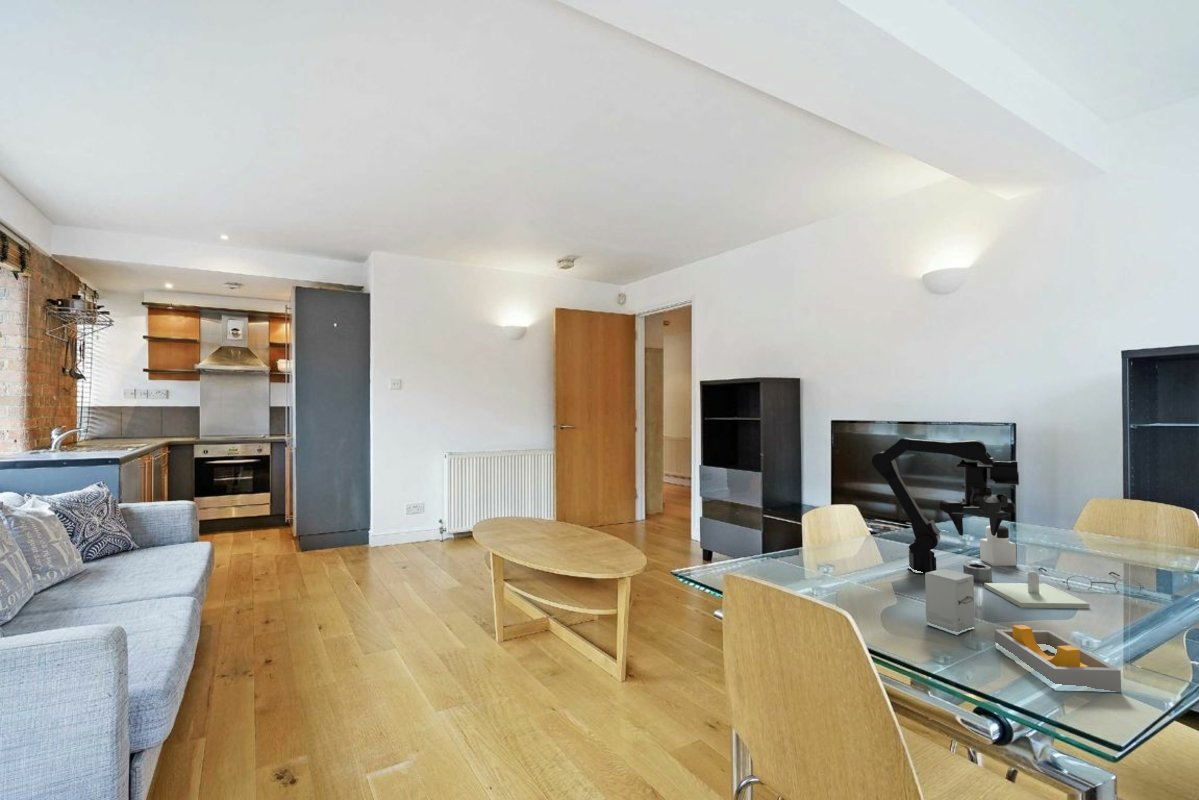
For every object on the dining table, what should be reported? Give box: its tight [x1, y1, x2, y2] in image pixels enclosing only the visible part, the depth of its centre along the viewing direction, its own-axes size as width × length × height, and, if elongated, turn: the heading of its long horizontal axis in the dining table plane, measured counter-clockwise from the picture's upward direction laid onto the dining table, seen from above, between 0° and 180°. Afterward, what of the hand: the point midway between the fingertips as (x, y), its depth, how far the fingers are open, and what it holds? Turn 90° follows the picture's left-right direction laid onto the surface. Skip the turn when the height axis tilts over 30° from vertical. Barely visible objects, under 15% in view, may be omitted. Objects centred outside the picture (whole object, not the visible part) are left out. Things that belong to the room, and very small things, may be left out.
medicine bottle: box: [979, 524, 1017, 567], centre depth 180 cm, size 7×7×12 cm
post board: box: [983, 570, 1090, 609], centre depth 148 cm, size 16×16×7 cm
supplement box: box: [924, 568, 976, 632], centre depth 130 cm, size 7×7×13 cm
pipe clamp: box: [1012, 624, 1089, 667], centre depth 109 cm, size 12×4×6 cm, turn 6°
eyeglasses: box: [1038, 567, 1146, 592], centre depth 161 cm, size 18×19×4 cm
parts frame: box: [994, 628, 1122, 693], centre depth 109 cm, size 11×18×4 cm, turn 174°
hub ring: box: [962, 562, 993, 584], centre depth 164 cm, size 6×6×4 cm
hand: (977, 535), depth 164 cm, fingers open, 9 cm apart
